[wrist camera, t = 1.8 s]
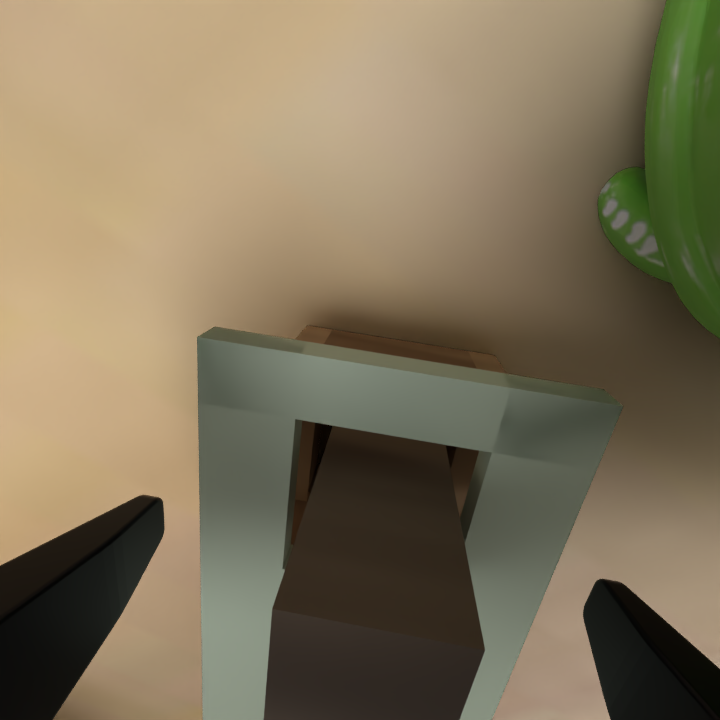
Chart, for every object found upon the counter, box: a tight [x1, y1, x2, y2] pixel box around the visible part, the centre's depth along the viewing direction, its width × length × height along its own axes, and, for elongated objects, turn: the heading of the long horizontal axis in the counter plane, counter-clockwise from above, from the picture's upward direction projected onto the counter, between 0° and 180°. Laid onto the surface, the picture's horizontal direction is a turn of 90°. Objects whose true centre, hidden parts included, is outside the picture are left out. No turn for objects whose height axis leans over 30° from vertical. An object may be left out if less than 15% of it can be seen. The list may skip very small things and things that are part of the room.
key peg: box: [264, 426, 485, 720], centre depth 9 cm, size 3×3×8 cm
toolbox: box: [291, 326, 507, 545], centre depth 14 cm, size 18×8×4 cm, turn 172°
